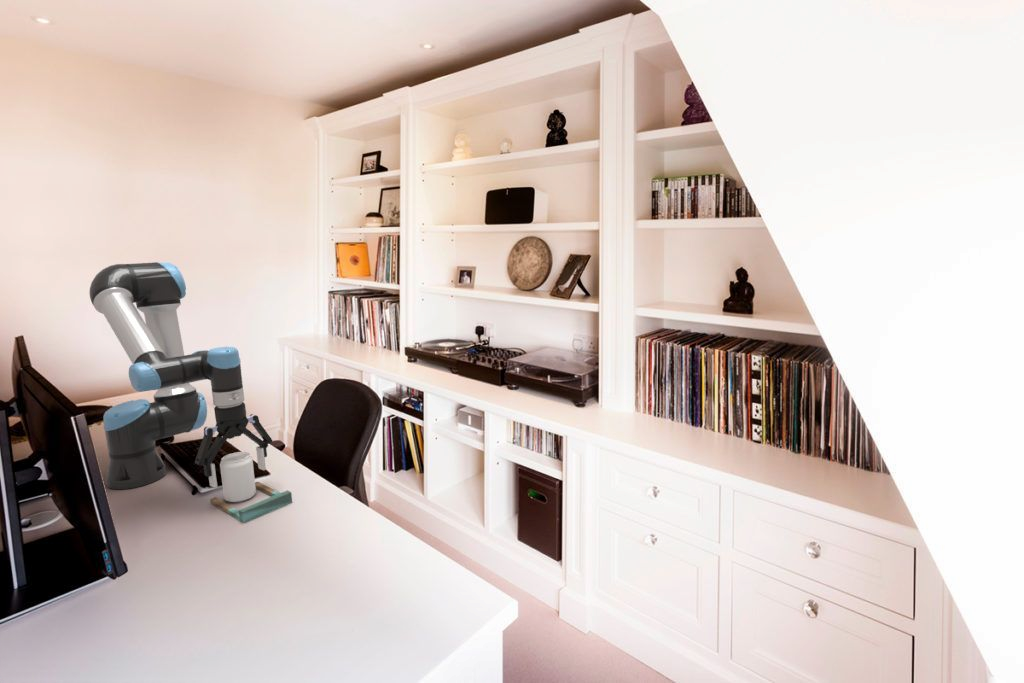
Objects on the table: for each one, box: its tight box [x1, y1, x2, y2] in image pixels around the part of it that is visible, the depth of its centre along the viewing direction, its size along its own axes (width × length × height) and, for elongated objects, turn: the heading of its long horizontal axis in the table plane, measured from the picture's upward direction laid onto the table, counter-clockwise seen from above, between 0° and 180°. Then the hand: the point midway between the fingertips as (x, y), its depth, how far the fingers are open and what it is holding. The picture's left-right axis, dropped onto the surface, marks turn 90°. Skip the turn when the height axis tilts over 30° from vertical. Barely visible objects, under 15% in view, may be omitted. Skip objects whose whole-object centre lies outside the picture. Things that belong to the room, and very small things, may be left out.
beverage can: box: [219, 451, 257, 503], centre depth 152 cm, size 8×8×12 cm
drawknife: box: [210, 481, 293, 524], centre depth 149 cm, size 18×14×3 cm
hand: (238, 477), depth 152 cm, fingers open, 13 cm apart
